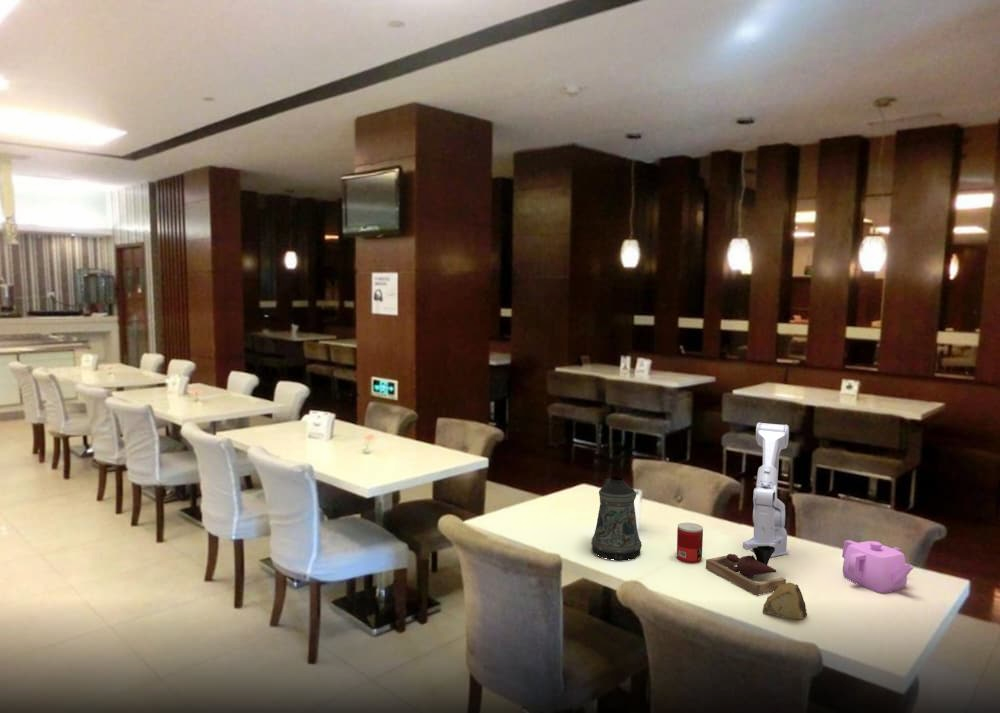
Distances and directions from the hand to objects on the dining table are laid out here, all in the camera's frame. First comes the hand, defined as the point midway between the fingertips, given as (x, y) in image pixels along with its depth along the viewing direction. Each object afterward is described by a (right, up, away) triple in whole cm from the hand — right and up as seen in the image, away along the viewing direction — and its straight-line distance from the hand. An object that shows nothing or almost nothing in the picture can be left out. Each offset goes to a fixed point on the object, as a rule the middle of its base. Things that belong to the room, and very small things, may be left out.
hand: (762, 568), depth 209 cm
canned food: (-19, -1, +12) cm, 23 cm away
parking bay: (-6, -2, -2) cm, 7 cm away
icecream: (-4, -2, -2) cm, 5 cm away
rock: (-4, -5, -26) cm, 26 cm away
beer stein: (-43, 0, +19) cm, 47 cm away
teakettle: (+33, -3, -5) cm, 33 cm away
